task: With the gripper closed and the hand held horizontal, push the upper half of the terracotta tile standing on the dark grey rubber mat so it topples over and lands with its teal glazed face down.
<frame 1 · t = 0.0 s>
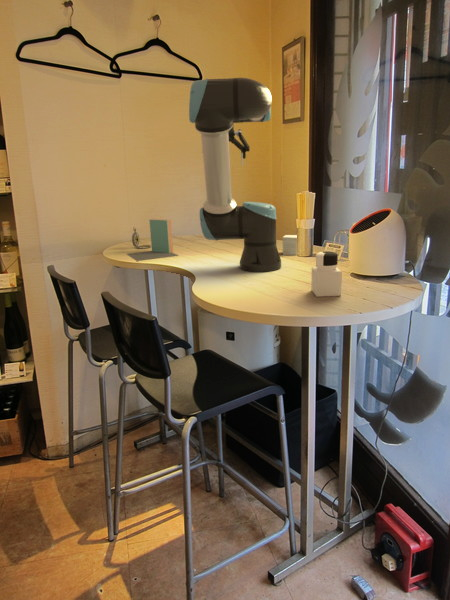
hand: (227, 164, 207), 36 cm above the table, tool tilted 35°, fingers open, 13 cm apart
tile: (162, 251, 206), resting on mat
product box: (290, 254, 193), on the table
pocket watch: (141, 249, 218), on the table
mat: (152, 255, 200), on the table
medicine bottle: (325, 293, 136), on the table
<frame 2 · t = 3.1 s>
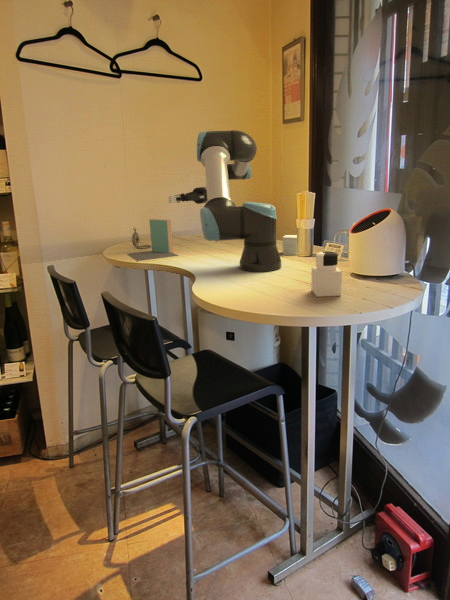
hand: (170, 199, 205), 22 cm above the table, tool horizontal, fingers closed
nothing on the table moved.
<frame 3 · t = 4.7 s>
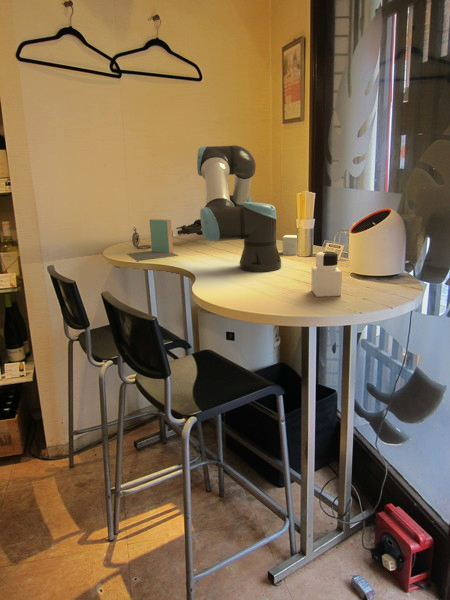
hand: (171, 233, 209), 7 cm above the table, tool horizontal, fingers closed
nothing on the table moved.
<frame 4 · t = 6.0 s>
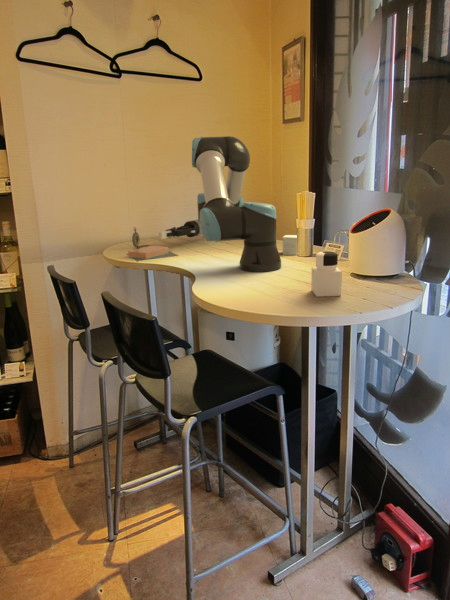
hand: (160, 235, 204), 7 cm above the table, tool horizontal, fingers closed
tile: (159, 249, 204), point 2 cm above the table, tilted 90°, touching mat
everything else where it was.
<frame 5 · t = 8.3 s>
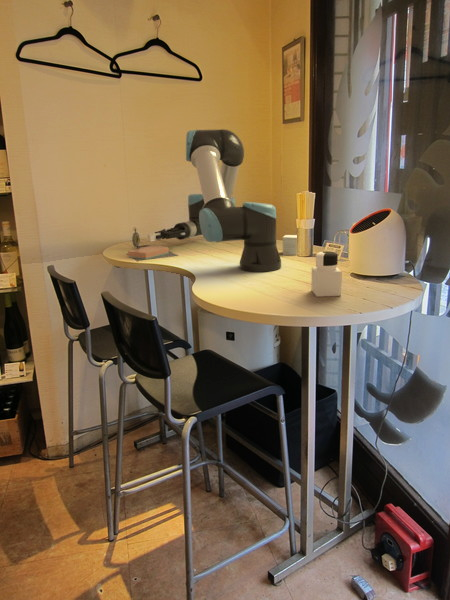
hand: (149, 238, 198), 8 cm above the table, tool horizontal, fingers closed
nothing on the table moved.
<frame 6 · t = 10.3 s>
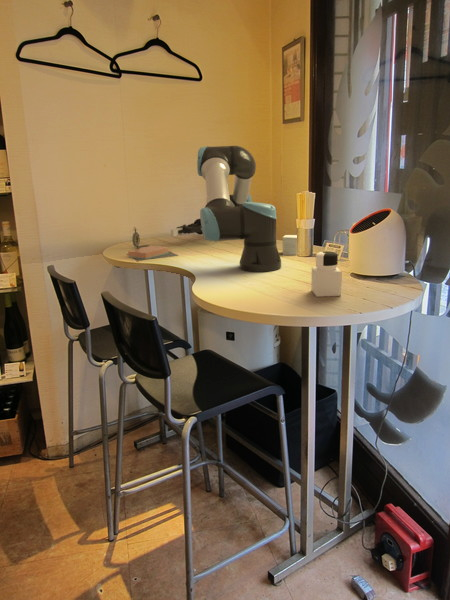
hand: (172, 232, 210), 8 cm above the table, tool horizontal, fingers closed
nothing on the table moved.
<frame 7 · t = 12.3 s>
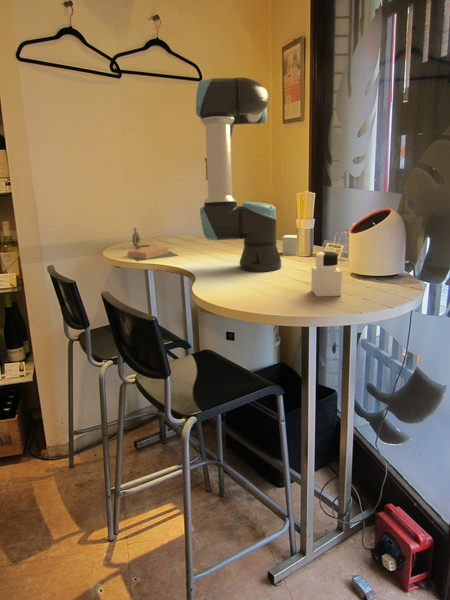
hand: (211, 198, 202), 22 cm above the table, tool tilted 30°, fingers closed
nothing on the table moved.
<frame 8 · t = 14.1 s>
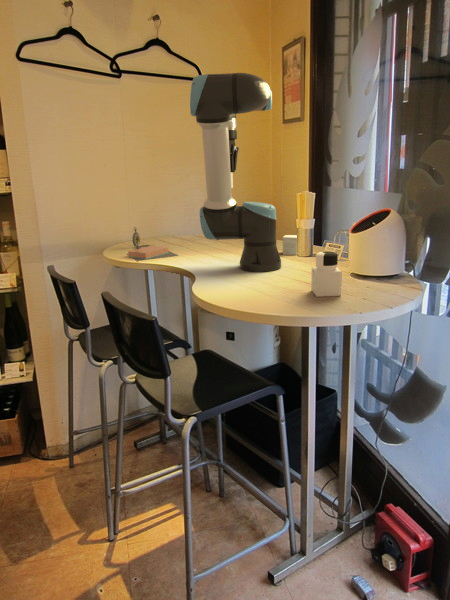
hand: (229, 187, 201), 26 cm above the table, tool pointing down, fingers closed
nothing on the table moved.
at the end: tile tilted 90°; tile inside the target area (6.3 cm from its centre), point 1.7 cm above the table; the gripper is holding nothing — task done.
